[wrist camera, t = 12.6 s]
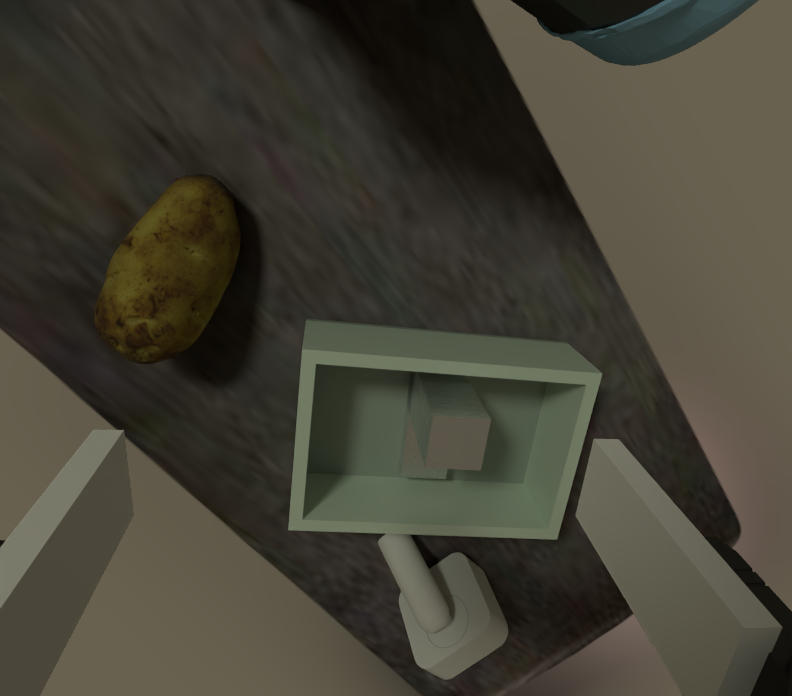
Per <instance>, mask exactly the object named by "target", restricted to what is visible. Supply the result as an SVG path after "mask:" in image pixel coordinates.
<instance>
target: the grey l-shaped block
mask: <svg viewBox="0 0 792 696" xmlns="http://www.w3.org/2000/svg"><path fill="white" fill-rule="evenodd" d="M490 423H491V418H490V417H489V415H488V413H487V411H486V410H485V408H484V406H483V404H482V403H481V401H480V399H479V397H478V396H477V394H476V392H475V390H474V388H473V387H472V385H471V383H470V381H469V380H468V378H467V376H465V375H453V374H440V373H427V372H414V371H411V377H410V383H409V390H408V397H407V404H406V411H405V417H404V424H403V431H402V438H401V445H400V451H399V458H398V469H399V474H400V477H411V478H431V479H446V474H447V469H460V470H479V471H481V467H482V462H483V457H484V452H485V447H486V442H487V437H488V433H489V428H490Z"/></svg>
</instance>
